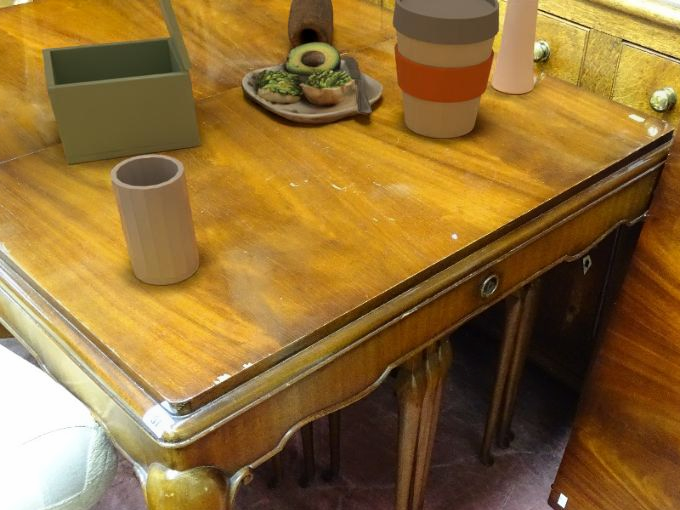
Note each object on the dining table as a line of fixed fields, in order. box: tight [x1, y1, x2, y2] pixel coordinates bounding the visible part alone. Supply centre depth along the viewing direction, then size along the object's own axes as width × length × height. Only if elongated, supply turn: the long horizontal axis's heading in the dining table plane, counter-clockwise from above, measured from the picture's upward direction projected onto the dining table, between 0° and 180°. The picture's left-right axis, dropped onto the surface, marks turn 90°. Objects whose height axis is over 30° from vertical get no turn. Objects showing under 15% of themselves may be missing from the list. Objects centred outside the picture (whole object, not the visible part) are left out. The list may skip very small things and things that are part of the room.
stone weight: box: [287, 0, 334, 49], centre depth 116 cm, size 15×7×7 cm, turn 8°
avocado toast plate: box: [241, 42, 384, 125], centre depth 101 cm, size 19×18×5 cm
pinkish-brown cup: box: [109, 153, 201, 286], centre depth 69 cm, size 6×6×10 cm
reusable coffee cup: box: [392, 0, 500, 139], centre depth 94 cm, size 13×13×15 cm
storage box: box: [41, 36, 202, 165], centre depth 89 cm, size 15×12×9 cm
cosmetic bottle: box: [490, 0, 539, 95], centre depth 102 cm, size 6×6×22 cm
